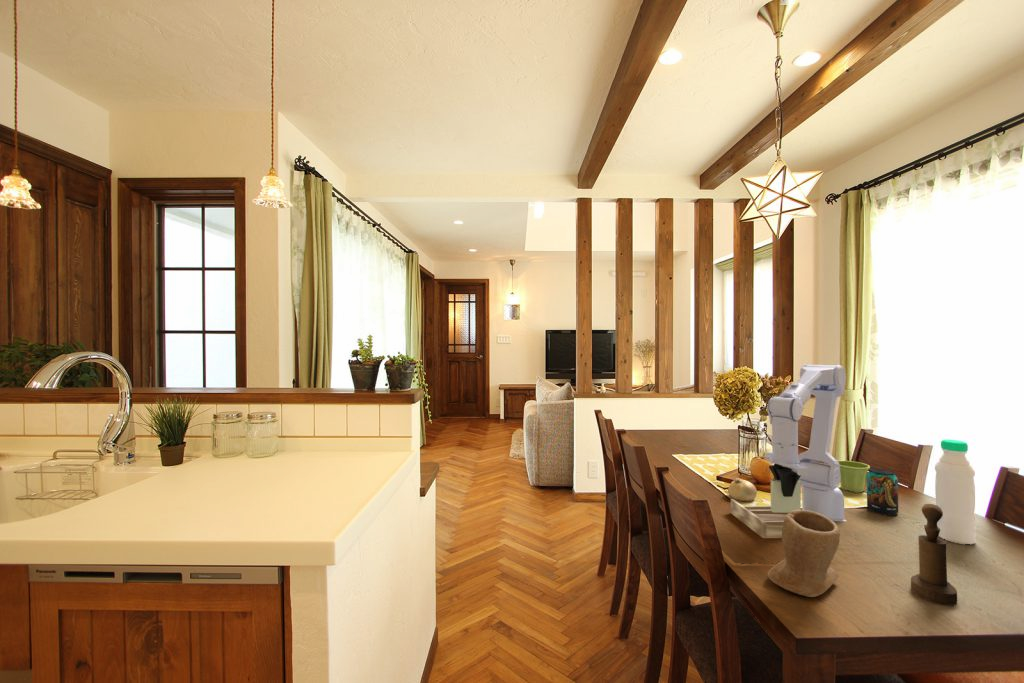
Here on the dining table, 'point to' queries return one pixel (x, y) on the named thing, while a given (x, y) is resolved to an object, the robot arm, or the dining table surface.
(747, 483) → the onion
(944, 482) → the white bottle
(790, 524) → the stone cup
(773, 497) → the panel
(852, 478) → the plant pot
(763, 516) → the offcut upper
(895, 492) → the printed food package
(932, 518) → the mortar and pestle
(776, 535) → the rack
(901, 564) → the dining table surface
